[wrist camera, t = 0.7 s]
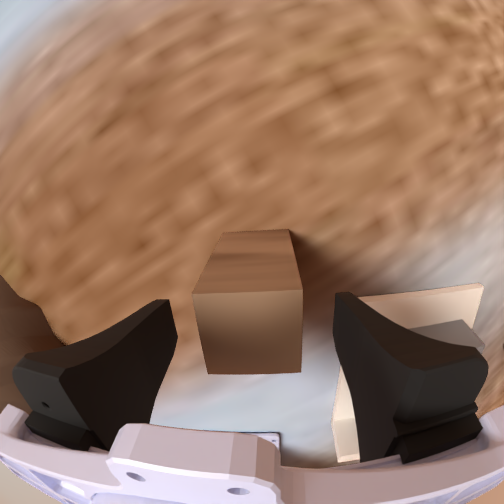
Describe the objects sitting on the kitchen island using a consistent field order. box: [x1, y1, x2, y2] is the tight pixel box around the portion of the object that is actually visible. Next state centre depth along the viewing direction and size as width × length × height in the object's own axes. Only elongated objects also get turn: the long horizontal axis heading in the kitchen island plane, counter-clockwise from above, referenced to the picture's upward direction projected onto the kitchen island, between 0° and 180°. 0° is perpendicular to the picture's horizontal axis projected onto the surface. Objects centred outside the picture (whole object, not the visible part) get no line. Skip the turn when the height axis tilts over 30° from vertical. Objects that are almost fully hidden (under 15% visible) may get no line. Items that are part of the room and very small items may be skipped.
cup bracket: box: [331, 283, 485, 462], centre depth 19 cm, size 14×12×5 cm
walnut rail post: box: [192, 229, 303, 374], centre depth 15 cm, size 4×4×8 cm
